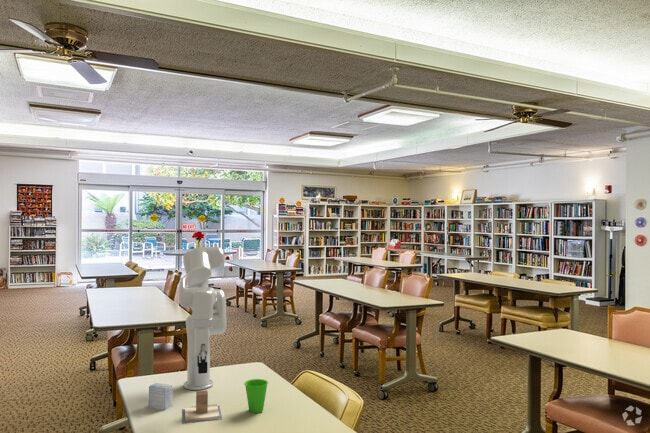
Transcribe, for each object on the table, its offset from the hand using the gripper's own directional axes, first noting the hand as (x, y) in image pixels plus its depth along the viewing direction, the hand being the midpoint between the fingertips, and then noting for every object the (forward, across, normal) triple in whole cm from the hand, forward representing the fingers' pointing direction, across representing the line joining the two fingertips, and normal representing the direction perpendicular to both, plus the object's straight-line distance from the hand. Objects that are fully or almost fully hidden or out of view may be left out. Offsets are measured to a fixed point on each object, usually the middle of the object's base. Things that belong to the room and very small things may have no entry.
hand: (202, 369), depth 179 cm
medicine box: (+17, -13, -15) cm, 26 cm away
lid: (+17, -1, 0) cm, 17 cm away
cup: (+17, +1, +20) cm, 27 cm away
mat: (+17, -1, 0) cm, 17 cm away
